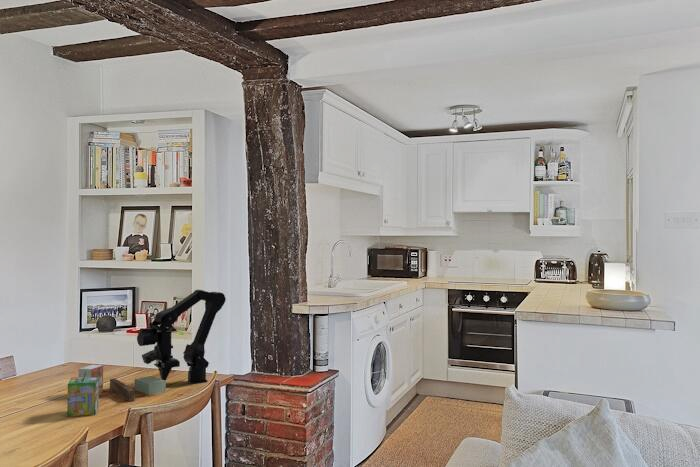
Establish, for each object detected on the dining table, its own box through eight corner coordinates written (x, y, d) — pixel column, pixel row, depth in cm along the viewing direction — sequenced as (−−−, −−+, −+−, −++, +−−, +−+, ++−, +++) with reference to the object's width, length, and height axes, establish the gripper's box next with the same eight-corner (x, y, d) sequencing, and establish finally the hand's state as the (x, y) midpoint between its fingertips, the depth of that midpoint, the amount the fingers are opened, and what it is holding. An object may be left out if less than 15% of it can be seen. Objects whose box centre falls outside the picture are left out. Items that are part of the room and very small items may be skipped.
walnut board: (115, 388, 239) (115, 378, 239) (134, 400, 220) (134, 390, 220) (109, 388, 237) (109, 378, 237) (129, 401, 219) (129, 391, 219)
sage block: (150, 386, 242) (150, 375, 242) (165, 392, 234) (165, 380, 234) (134, 390, 237) (134, 378, 237) (149, 395, 229) (149, 383, 229)
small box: (90, 396, 226) (91, 369, 226) (77, 395, 227) (78, 368, 227) (103, 391, 234) (103, 364, 234) (91, 390, 235) (91, 364, 235)
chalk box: (71, 410, 208) (71, 368, 208) (99, 408, 211) (99, 366, 211) (66, 417, 199) (66, 373, 199) (95, 415, 202) (95, 372, 202)
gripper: (136, 341, 241) (135, 380, 241) (152, 348, 227) (152, 389, 227) (163, 339, 248) (162, 376, 248) (180, 345, 234) (179, 385, 233)
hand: (163, 381), depth 239 cm, fingers closed
